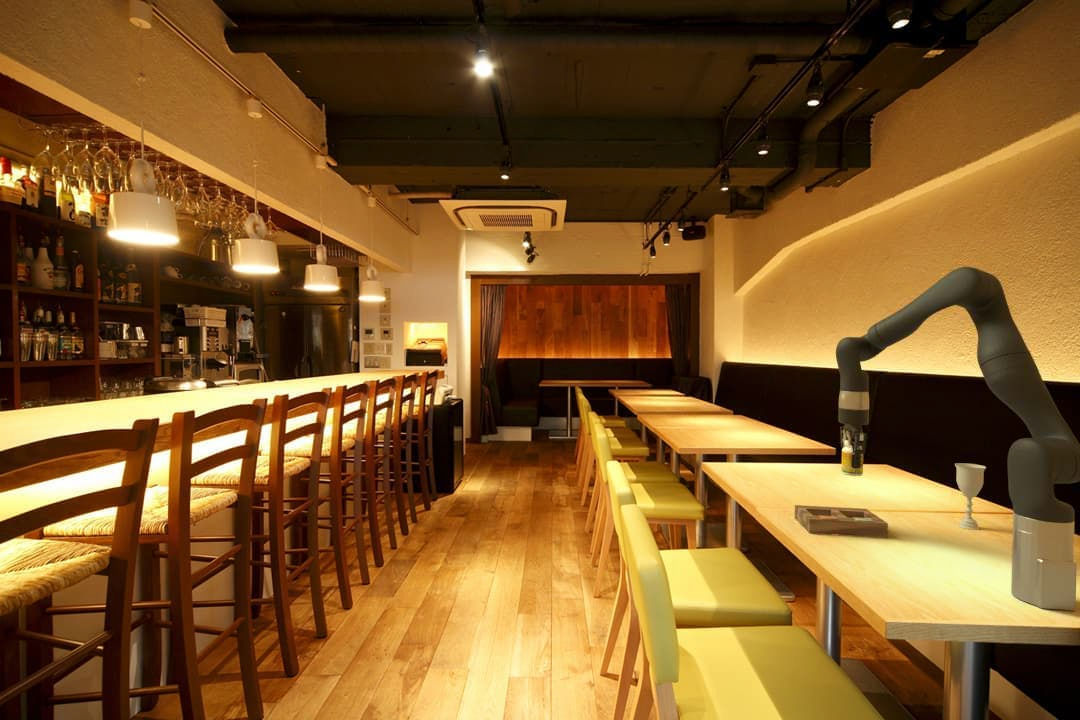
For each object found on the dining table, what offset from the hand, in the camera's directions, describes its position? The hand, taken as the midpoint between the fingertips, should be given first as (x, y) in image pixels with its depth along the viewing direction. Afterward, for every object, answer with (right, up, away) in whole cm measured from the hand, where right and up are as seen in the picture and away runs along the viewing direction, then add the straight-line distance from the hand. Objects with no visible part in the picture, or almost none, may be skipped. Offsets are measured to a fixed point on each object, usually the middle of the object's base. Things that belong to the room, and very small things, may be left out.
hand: (851, 465), depth 156 cm
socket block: (-3, -18, +1) cm, 18 cm away
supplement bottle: (0, -3, 0) cm, 3 cm away
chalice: (+36, -19, +3) cm, 40 cm away
